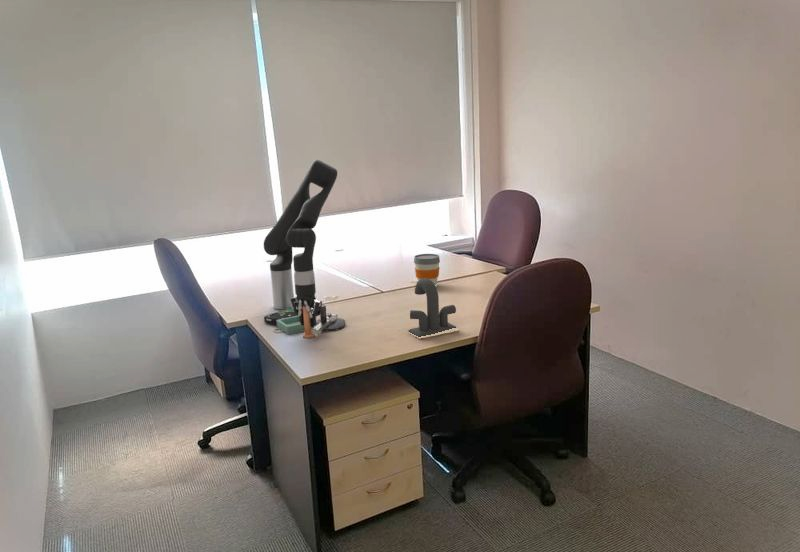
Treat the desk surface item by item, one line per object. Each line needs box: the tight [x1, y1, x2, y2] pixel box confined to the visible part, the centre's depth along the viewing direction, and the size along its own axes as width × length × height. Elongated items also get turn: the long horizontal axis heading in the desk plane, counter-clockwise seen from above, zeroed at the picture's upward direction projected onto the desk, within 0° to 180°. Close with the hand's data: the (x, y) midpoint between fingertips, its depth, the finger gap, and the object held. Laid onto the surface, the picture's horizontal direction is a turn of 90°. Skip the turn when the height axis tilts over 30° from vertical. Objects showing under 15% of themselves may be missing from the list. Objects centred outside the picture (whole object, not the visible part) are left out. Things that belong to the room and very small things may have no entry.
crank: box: [311, 304, 339, 335], centre depth 225 cm, size 20×5×8 cm, turn 164°
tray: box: [276, 315, 315, 335], centre depth 230 cm, size 11×11×3 cm
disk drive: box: [263, 308, 298, 326], centre depth 240 cm, size 10×3×15 cm
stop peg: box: [302, 306, 316, 339], centre depth 219 cm, size 4×4×12 cm
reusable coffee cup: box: [413, 253, 441, 285], centre depth 283 cm, size 12×13×15 cm
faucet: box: [407, 278, 457, 337], centre depth 220 cm, size 18×16×20 cm
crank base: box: [314, 317, 347, 332], centre depth 231 cm, size 12×12×2 cm
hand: (308, 325), depth 219 cm, fingers open, 4 cm apart
